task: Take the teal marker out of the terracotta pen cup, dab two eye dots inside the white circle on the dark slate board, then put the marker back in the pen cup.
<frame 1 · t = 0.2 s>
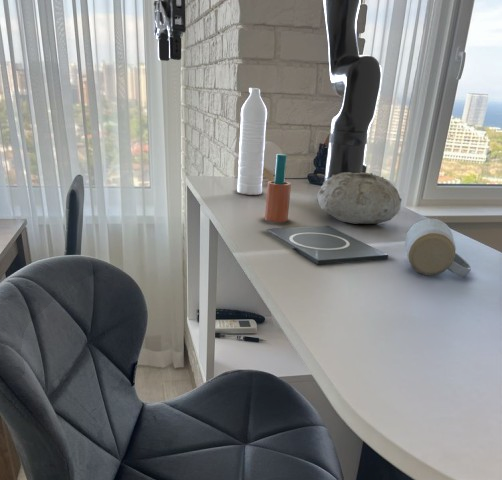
hand: (169, 60, 100), 29 cm above the table, tool pointing down, fingers open, 8 cm apart
grey rounded lump: (354, 222, 112), on the table
water bottle: (249, 192, 135), on the table
ceramic mug: (433, 271, 83), on the table
slate board: (323, 245, 93), on the table
pen cup: (276, 221, 107), on the table
marker: (276, 219, 107), resting on pen cup
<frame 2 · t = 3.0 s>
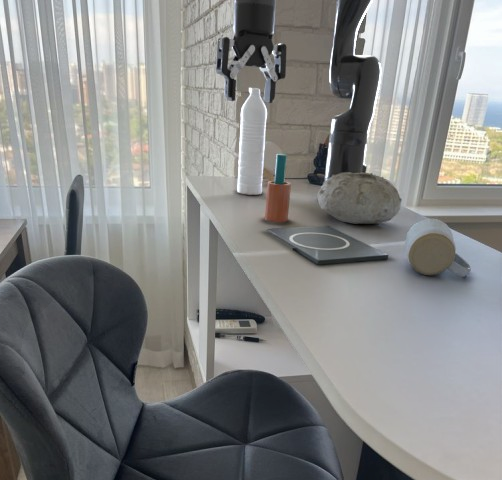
hand: (249, 101, 99), 23 cm above the table, tool pointing down, fingers open, 8 cm apart
nothing on the table moved.
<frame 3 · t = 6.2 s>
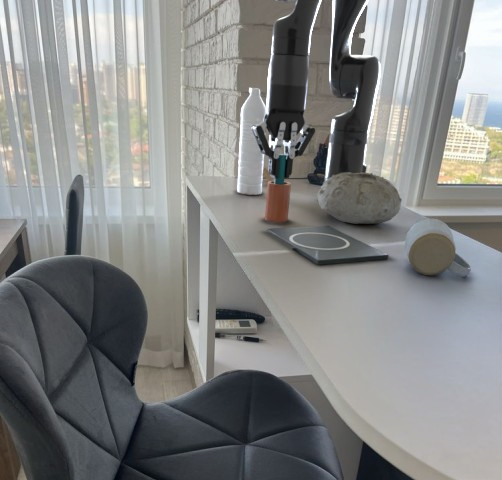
hand: (279, 177, 103), 9 cm above the table, tool pointing down, fingers closed on marker, 2 cm apart
marker: (276, 219, 107), point 1 cm above the table, touching gripper, pen cup
everything else where it was.
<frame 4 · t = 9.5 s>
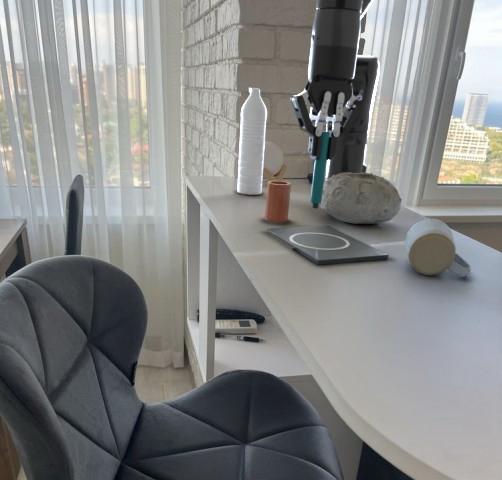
hand: (321, 158, 88), 15 cm above the table, tool pointing down, fingers closed on marker
marker: (315, 208, 92), point 6 cm above the table, touching gripper
everything else where it was.
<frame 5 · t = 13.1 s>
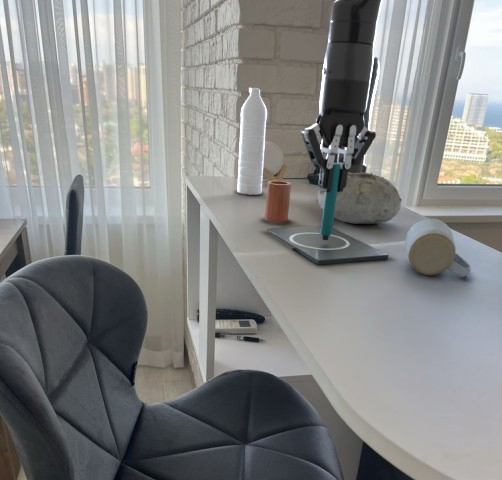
hand: (331, 190, 86), 10 cm above the table, tool pointing down, fingers closed on marker, 2 cm apart
marker: (325, 239, 90), point 2 cm above the table, touching gripper
everything else where it was.
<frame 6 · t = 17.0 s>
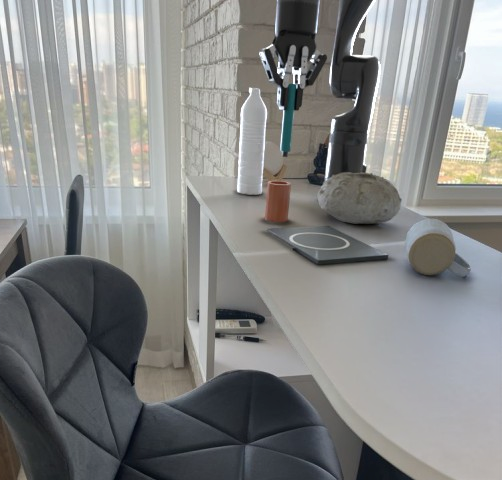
hand: (289, 109, 96), 22 cm above the table, tool pointing down, fingers closed on marker
marker: (284, 156, 100), point 13 cm above the table, touching gripper
everything else where it was.
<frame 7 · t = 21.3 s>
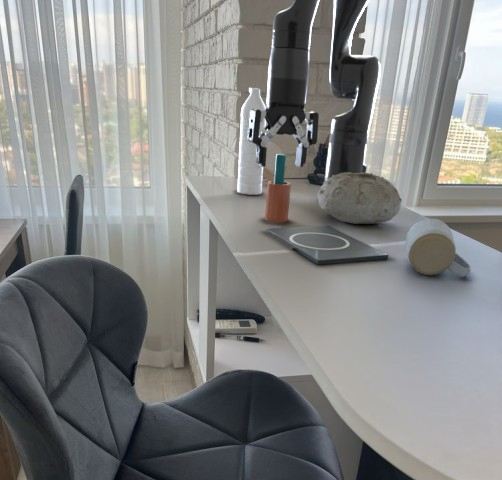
hand: (280, 166, 102), 11 cm above the table, tool pointing down, fingers open, 8 cm apart
marker: (275, 219, 107), resting on pen cup
everything else where it was.
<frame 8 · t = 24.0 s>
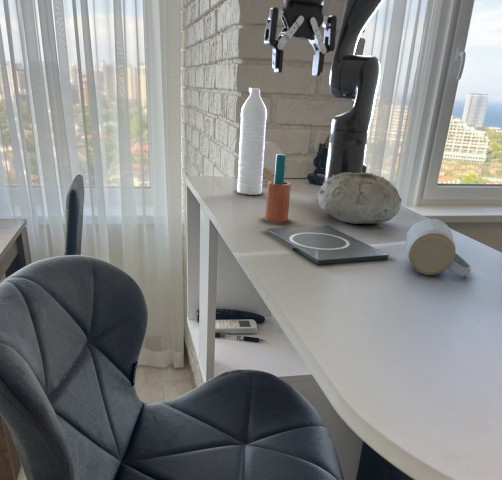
hand: (297, 74, 100), 28 cm above the table, tool pointing down, fingers open, 8 cm apart
nothing on the table moved.
at the end: marker 0.1 cm off-centre in the pen cup, point 0.5 cm above the pen cup's base; marker tilted 0°; the gripper is holding nothing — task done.
